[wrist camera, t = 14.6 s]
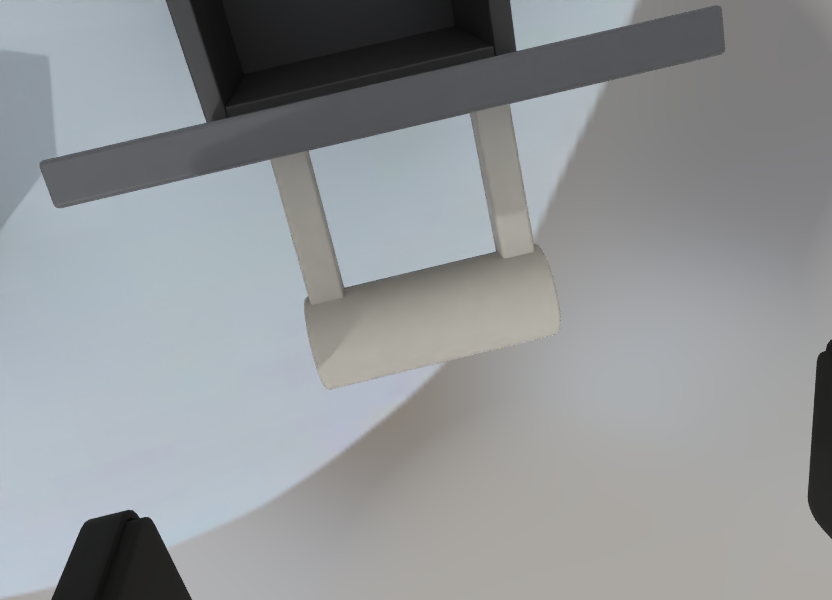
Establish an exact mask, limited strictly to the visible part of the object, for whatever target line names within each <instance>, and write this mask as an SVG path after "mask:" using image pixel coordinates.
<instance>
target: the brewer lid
mask: <svg viewBox="0 0 832 600" xmlns="http://www.w3.org/2000/svg"><path fill="white" fill-rule="evenodd" d="M724 51H725V42H724V29H723V17H722V9H721V7H720V6H717V5H716V6H712V7H707V8H703V9H698V10H694V11H690V12H685V13H681V14H676V15H672V16H668V17H664V18H659V19H655V20H650V21H646V22H642V23H637V24H634V25H629V26H624V27H620V28H616V29H611V30H607V31H603V32H598V33H594V34H590V35H585V36H581V37H577V38H572V39H568V40H564V41H559V42H555V43H551V44H546V45H542V46H538V47H533V48H529V49H525V50H520V51H516V52H512V53H507V54H503V55H499V56H494V57H490V58H486V59H481V60H477V61H473V62H468V63H464V64H460V65H455V66H451V67H447V68H442V69H438V70H434V71H429V72H425V73H421V74H416V75H412V76H408V77H403V78H399V79H395V80H390V81H386V82H382V83H377V84H373V85H369V86H364V87H360V88H356V89H351V90H347V91H342V92H338V93H334V94H329V95H325V96H321V97H316V98H312V99H308V100H303V101H299V102H295V103H290V104H286V105H282V106H277V107H273V108H269V109H264V110H260V111H256V112H251V113H247V114H243V115H238V116H234V117H230V118H225V119H221V120H217V121H212V122H208V123H204V124H199V125H195V126H191V127H186V128H182V129H178V130H173V131H169V132H165V133H160V134H156V135H152V136H147V137H143V138H139V139H134V140H130V141H126V142H121V143H117V144H113V145H108V146H104V147H100V148H95V149H91V150H87V151H82V152H78V153H74V154H69V155H65V156H61V157H56V158H52V159H48V160H43V161H42V162H40V169H41V172H42V174H43V177H44V180H45V182H46V185H47V188H48V190H49V193H50V196H51V198H52V201H53V204H54V206H55V207H56V208H64V207H68V206H72V205H77V204H81V203H85V202H89V201H94V200H98V199H102V198H107V197H111V196H115V195H120V194H124V193H128V192H132V191H137V190H141V189H145V188H150V187H154V186H158V185H163V184H167V183H171V182H175V181H180V180H184V179H188V178H193V177H197V176H201V175H205V174H210V173H214V172H218V171H223V170H227V169H231V168H236V167H240V166H244V165H248V164H253V163H257V162H261V161H266V160H271V164H272V167H273V171H274V175H275V178H276V182H277V185H278V189H279V192H280V196H281V200H282V203H283V207H284V210H285V214H286V218H287V221H288V225H289V228H290V232H291V236H292V239H293V243H294V246H295V250H296V254H297V257H298V261H299V264H300V268H301V272H302V275H303V279H304V282H305V286H306V290H307V293H308V297H307V298H305V301H304V313H305V321H306V327H307V333H308V337H309V342H310V346H311V350H312V354H313V358H314V361H315V365H316V368H317V371H318V374H319V377H320V379H321V381H322V383H323V385H324V387H325V388H326V389H329V390H330V389H334V388H338V387H342V386H347V385H351V384H355V383H359V382H363V381H367V380H371V379H375V378H379V377H384V376H388V375H392V374H396V373H400V372H404V371H408V370H412V369H416V368H421V367H425V366H429V365H433V364H437V363H441V362H445V361H449V360H453V359H458V358H462V357H466V356H470V355H474V354H478V353H482V352H486V351H491V350H495V349H499V348H503V347H507V346H511V345H515V344H519V343H523V342H528V341H531V340H536V339H540V338H544V337H548V336H552V335H555V334H557V333H558V332H559V328H560V307H559V300H558V296H557V291H556V286H555V283H554V279H553V275H552V272H551V269H550V266H549V264H548V261H547V259H546V257H545V255H544V253H543V251H542V250H541V248H540V247H539V246H538V245H537V244H535V243H534V242H533V237H532V231H531V225H530V219H529V214H528V208H527V202H526V196H525V191H524V185H523V179H522V173H521V168H520V162H519V156H518V150H517V145H516V139H515V133H514V127H513V122H512V116H511V110H510V105H509V104H511V103H515V102H519V101H523V100H528V99H532V98H536V97H541V96H545V95H549V94H554V93H558V92H562V91H566V90H571V89H575V88H579V87H584V86H588V85H592V84H597V83H601V82H605V81H609V80H614V79H618V78H622V77H626V76H631V75H635V74H639V73H644V72H648V71H652V70H656V69H661V68H665V67H670V66H674V65H678V64H682V63H687V62H691V61H695V60H700V59H704V58H708V57H712V56H717V55H721V54H722V53H724ZM468 113H470V117H471V122H472V127H473V132H474V138H475V143H476V148H477V153H478V158H479V164H480V169H481V174H482V179H483V185H484V190H485V195H486V200H487V206H488V211H489V216H490V221H491V227H492V232H493V237H494V242H495V248H496V252H493V253H489V254H484V255H480V256H476V257H472V258H468V259H464V260H459V261H455V262H451V263H447V264H443V265H438V266H434V267H430V268H426V269H422V270H417V271H413V272H409V273H405V274H401V275H397V276H392V277H388V278H384V279H380V280H376V281H371V282H367V283H363V284H359V285H355V286H351V287H346V288H344V285H343V282H342V278H341V274H340V270H339V266H338V262H337V259H336V255H335V251H334V247H333V243H332V240H331V236H330V232H329V228H328V224H327V220H326V217H325V213H324V209H323V205H322V201H321V197H320V194H319V190H318V186H317V182H316V178H315V174H314V171H313V167H312V163H311V159H310V155H309V150H313V149H317V148H322V147H326V146H330V145H334V144H339V143H343V142H347V141H352V140H356V139H360V138H364V137H369V136H373V135H377V134H382V133H386V132H390V131H395V130H399V129H403V128H407V127H412V126H416V125H420V124H425V123H429V122H433V121H438V120H442V119H446V118H450V117H455V116H459V115H463V114H468Z"/></svg>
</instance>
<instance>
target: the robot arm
mask: <svg viewBox="0 0 832 600" xmlns="http://www.w3.org/2000/svg"><path fill="white" fill-rule="evenodd" d="M811 442H812V443H811V456H810V472H809V486H808V503H809V507H810V510H811V512H812V514H813V516H814V518H815V520H816V521H817V523H818V524H819V525H820V526H821V528H822V529H823V530H824V531H825V532H826V533H827V534H828V535H829V536H830V538H831V539H832V340H830V342H829V343H828V344H827V348H826V351H824V352H822V353H820V355H819V356H818V359H817V367H816V383H815V397H814V412H813V426H812V441H811ZM52 600H192V599H191V597H190V595H189V593H188V591H187V589H186V587H185V585H184V583H183V581H182V579H181V577H180V575H179V573H178V571H177V569H176V567H175V565H174V563H173V561H172V559H171V557H170V554H169V553H168V550H167V548H166V546H165V544H164V542H163V540H162V538H161V536H160V534H159V532H158V530H157V528H156V526H155V524H154V523H153V521H152V520H151V519H150V518H149V517H144V518H139V516H138V515H137V513H135V512H134V511H133V510H126V511H122V512H118V513H114V514H110V515H106V516H102V517H98V518H94V519H90V520H88V521H86V522H85V523H84V525H83V526H82V528H81V530H80V532H79V535H78V537H77V539H76V542H75V544H74V547H73V549H72V551H71V554H70V556H69V559H68V561H67V563H66V566H65V568H64V571H63V573H62V575H61V578H60V580H59V583H58V585H57V587H56V590H55V592H54V595H53V597H52Z"/></svg>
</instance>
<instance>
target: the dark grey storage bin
mask: <svg viewBox="0 0 832 600" xmlns="http://www.w3.org/2000/svg"><path fill="white" fill-rule="evenodd" d="M166 3H167V6H168V8H169V11H170V14H171V17H172V20H173V23H174V26H175V29H176V32H177V35H178V38H179V41H180V44H181V47H182V50H183V53H184V56H185V59H186V62H187V65H188V68H189V71H190V74H191V77H192V80H193V83H194V86H195V89H196V92H197V95H198V98H199V101H200V104H201V107H202V110H203V113H204V116H205V119H206V122H207V123H208V122H212V121H217V120H221V119H225V118H230V117H234V116H238V115H243V114H247V113H251V112H256V111H260V110H264V109H269V108H273V107H277V106H282V105H286V104H290V103H295V102H299V101H303V100H308V99H312V98H316V97H321V96H325V95H329V94H334V93H338V92H342V91H347V90H351V89H356V88H360V87H364V86H369V85H373V84H377V83H382V82H386V81H390V80H395V79H399V78H403V77H408V76H412V75H416V74H421V73H425V72H429V71H434V70H438V69H442V68H447V67H451V66H455V65H460V64H464V63H468V62H473V61H477V60H481V59H486V58H490V57H494V56H499V55H503V54H507V53H512V52H516V45H515V37H514V29H513V21H512V13H511V5H510V0H166Z"/></svg>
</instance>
